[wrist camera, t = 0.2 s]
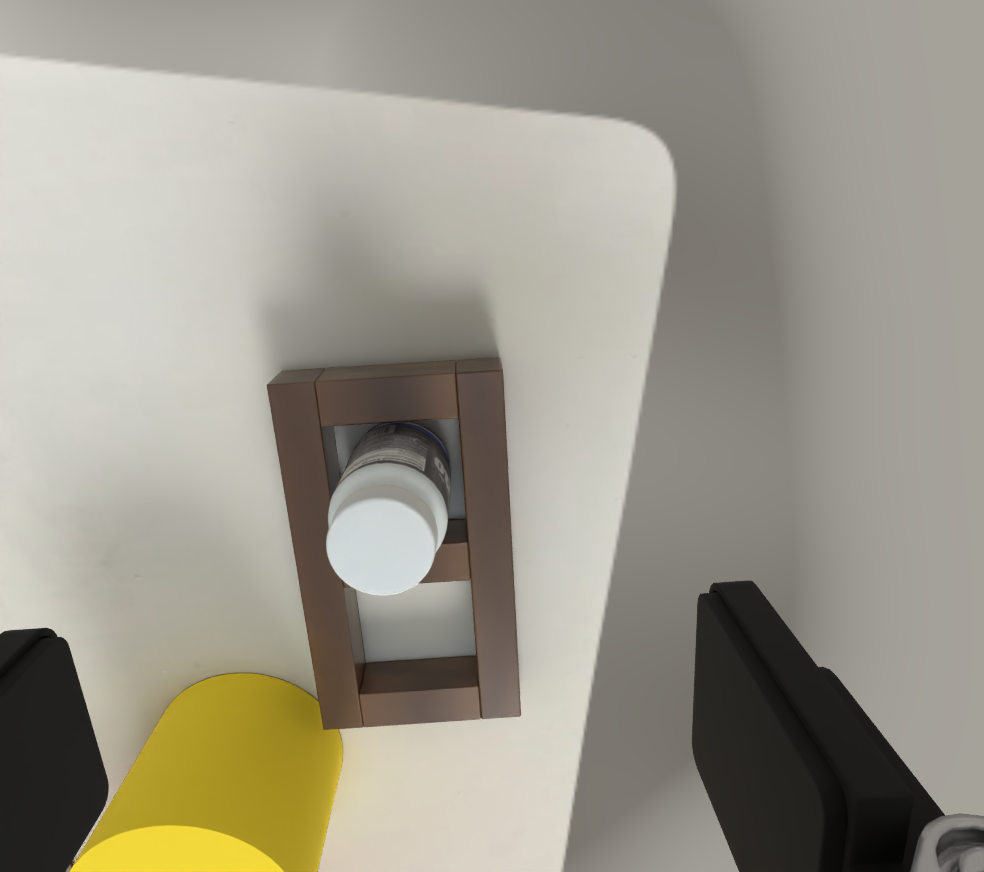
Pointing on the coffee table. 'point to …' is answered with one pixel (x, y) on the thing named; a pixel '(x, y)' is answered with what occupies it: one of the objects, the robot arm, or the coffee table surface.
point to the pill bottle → (390, 509)
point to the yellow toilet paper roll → (225, 785)
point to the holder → (462, 554)
